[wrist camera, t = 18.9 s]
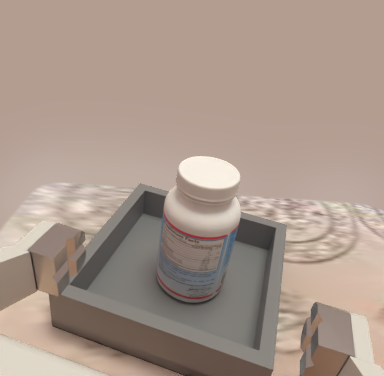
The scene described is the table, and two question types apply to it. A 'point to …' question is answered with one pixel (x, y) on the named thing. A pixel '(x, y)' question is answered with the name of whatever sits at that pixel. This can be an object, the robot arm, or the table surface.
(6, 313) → the table surface
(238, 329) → the tray
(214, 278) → the pill bottle
